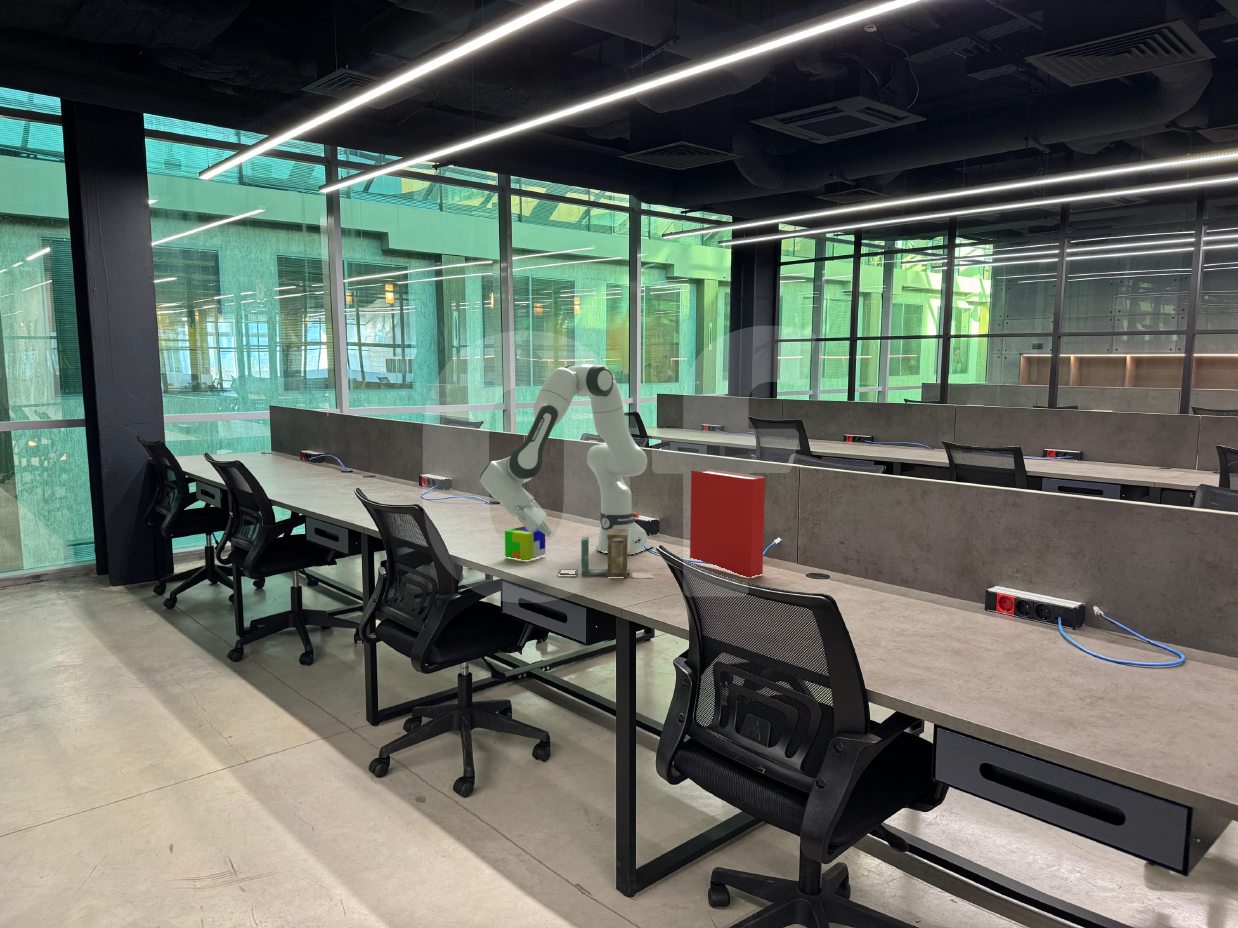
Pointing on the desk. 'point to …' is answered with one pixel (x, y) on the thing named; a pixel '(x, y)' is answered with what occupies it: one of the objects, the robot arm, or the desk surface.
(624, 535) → the tunnel
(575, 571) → the tray
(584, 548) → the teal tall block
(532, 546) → the puzzle toy
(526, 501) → the robot arm
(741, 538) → the book
